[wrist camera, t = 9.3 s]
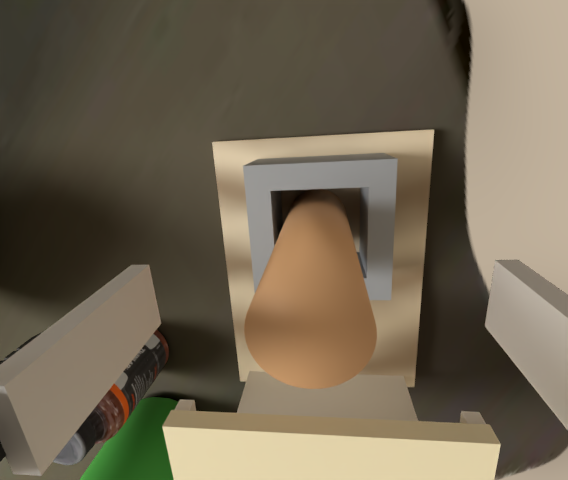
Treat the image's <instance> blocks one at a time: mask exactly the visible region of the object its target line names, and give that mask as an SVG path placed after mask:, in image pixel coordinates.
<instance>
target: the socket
mask: <svg viewBox="0 0 568 480" xmlns="http://www.w3.org/2000/svg"><path fill="white" fill-rule="evenodd" d="M397 162H398V159H397V158H395V157H392V156H390V155H388V154H385V153H368V154H348V155H327V156H307V157H287V158H266V159H257V160H255V161H252V162H250V163H248V164H246V165H244V166H243V172H244V183H245V194H246V205H247V216H248V226H249V237H250V248H251V259H252V270H253V281H254V291H255V292H256V290H257V287H258V285H259V282H260V280H261V278H262V275H263V273H264V270H265V268H266V266H267V263H268V261H269V258H270V256H271V254H272V251H273V249H274V246H275V244H276V242H277V239H278V237H279V234H280V232H281V230H282V227H283V218H282V201H281V190H307V189H334V188H360V240H359V252H357V255H358V259H359V263H360V266H361V270H362V274H363V278H364V281H365V285H366V289H367V292H368V296H369V300H391V290H392V269H393V247H394V226H395V204H396V183H397Z"/></svg>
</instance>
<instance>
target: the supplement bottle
mask: <svg viewBox="0 0 568 480" xmlns="http://www.w3.org/2000/svg"><path fill="white" fill-rule="evenodd" d="M168 355H169V349H168V344H167V342H166V340H165V338H164V337H163V335H162V334H161V333H160V332H159V331H158V330H157V329H156V331H155V332H154V333H153V335H152V336H151V337H150V338H149V340H148V341H147V342H146V343H145V345H144V346H143V347H142V349H141V350H140V351H139V352H138V354H137V355H136V356H135V357H134V359H133V360H132V361H131V362H130V364H129V365H128V366H127V368H126V369H125V370H124V371H123V373H122V374H121V375H120V376H119V378H118V379H117V380H116V382H115V383H114V384H113V385H112V387H111V388H110V389H109V390H108V392H107V393H106V394H105V396H104V397H103V398H102V399H101V401H100V402H99V403H98V404H97V406H96V407H95V408H94V409H93V411H92V412H91V413H90V415H89V416H88V417H87V418H86V420H85V421H84V422H83V423H82V425H81V426H80V427H79V429H78V430H77V431H76V432H75V434H74V435H73V436H72V437H71V439H70V440H69V441H68V442H67V444H66V445H65V446H64V448H63V449H62V450H61V451H60V453H59V454H58V455H57V456H56V458H55V459H54V460H53V462H55V463H59V464H63V465H73V464H76V463H78V462H80V461H81V460H82V459H83V458H84V457H85V456H86V454H87V453H88V452H89V450H90V449H91V448H92V447H93V446H94V444H97V443H102V442H105V441H107V440H109V439H111V438H112V437H113V436H115V435H116V434H117V433H118V431H119V430H120V429H121V428H122V426H123V425H124V423H125V422H126V420H127V419H128V418H129V416H130V415H131V413H132V412H133V411H134V409H135V408H136V406H137V405H138V403H139V402H140V400H141V399H142V398H143V396H144V395H145V393H146V392H147V390H148V389H149V387H150V386H151V384H152V383H153V382H154V380H155V379H156V377H157V376H158V374H159V373H160V371H161V370H162V368H163V367H164V365H165V364H166V362H167V360H168Z"/></svg>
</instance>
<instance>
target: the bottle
mask: <svg viewBox="0 0 568 480" xmlns="http://www.w3.org/2000/svg"><path fill="white" fill-rule="evenodd" d="M177 404H178V401H175V400H173V399H170V398H160V397H150V398H146V399H142V400H140V402H139V403H138V405H137V406H136V408H135V409H134V411H133V412H132V413H131V415H130V416H129V418H128V419H127V420H126V422H125V423H124V425H123V426H122V428H121V429H120V430H119V431H118V433H117V434H116V435H115V436H113V437H112V438H111V439H109V440H107V441H106V443H105V444H104V446H103V447H102V448H101V450H100V451H99V453H98V454H97V456H96V457H95V458H94V460H93V461H92V463H91V464H90V466H89V467H88V468H87V470H86V471H85V473H84V474H83V476H82V477H81V479H80V480H174V479H173V474H172V469H171V465H170V460H169V455H168V451H167V446H166V442H165V437H164V432H163V428H162V426H163V424H164V422H165V420H166V419H167V417H168V415H169V413H170V411H171V410H175V408H176V406H177Z"/></svg>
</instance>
